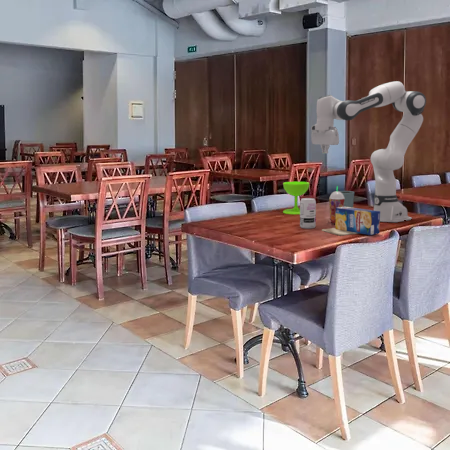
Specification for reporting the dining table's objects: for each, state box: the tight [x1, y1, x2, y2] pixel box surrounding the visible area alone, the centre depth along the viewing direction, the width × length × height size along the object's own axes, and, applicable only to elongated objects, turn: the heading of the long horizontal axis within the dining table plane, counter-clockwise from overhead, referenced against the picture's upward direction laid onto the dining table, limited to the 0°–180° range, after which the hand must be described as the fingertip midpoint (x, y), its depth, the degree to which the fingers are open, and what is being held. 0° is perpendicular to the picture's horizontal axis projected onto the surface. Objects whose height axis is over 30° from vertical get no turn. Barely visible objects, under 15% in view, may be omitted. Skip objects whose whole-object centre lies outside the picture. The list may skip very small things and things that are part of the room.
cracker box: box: [334, 207, 381, 236], centre depth 280 cm, size 7×11×22 cm
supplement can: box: [299, 197, 317, 229], centre depth 296 cm, size 8×8×15 cm
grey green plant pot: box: [338, 190, 355, 208], centre depth 346 cm, size 10×10×12 cm
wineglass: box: [282, 181, 310, 215], centre depth 345 cm, size 16×16×18 cm
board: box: [321, 227, 361, 237], centre depth 284 cm, size 16×15×1 cm
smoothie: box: [328, 185, 345, 224], centre depth 307 cm, size 8×8×20 cm
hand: (325, 153), depth 300 cm, fingers closed
